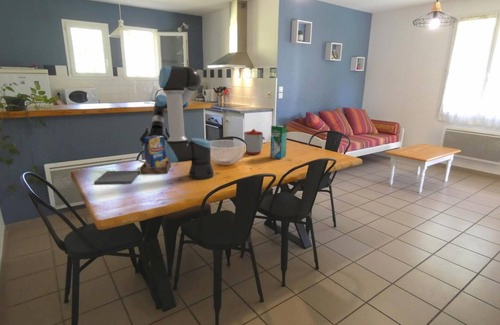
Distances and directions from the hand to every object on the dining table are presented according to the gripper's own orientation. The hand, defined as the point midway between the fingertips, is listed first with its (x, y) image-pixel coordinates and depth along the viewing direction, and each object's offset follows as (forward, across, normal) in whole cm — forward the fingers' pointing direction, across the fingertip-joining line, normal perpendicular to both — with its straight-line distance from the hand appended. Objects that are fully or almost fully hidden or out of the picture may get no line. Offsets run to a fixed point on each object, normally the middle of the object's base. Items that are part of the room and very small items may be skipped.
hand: (154, 150), depth 192 cm
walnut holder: (+10, 0, -8) cm, 13 cm away
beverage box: (+10, 0, -8) cm, 13 cm away
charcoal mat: (+21, +19, +3) cm, 29 cm away
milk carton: (-10, -87, -28) cm, 92 cm away
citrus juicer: (-20, -70, -38) cm, 82 cm away
